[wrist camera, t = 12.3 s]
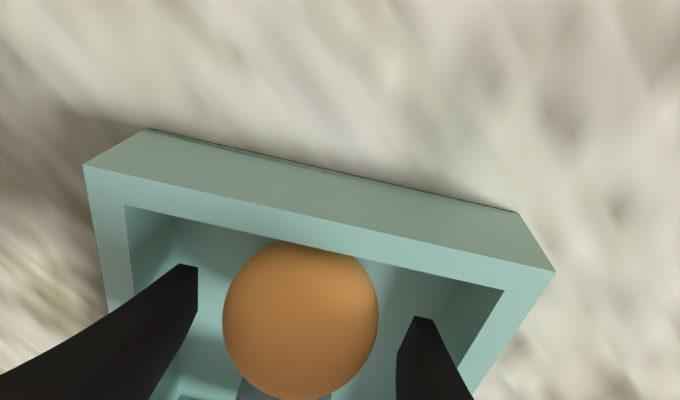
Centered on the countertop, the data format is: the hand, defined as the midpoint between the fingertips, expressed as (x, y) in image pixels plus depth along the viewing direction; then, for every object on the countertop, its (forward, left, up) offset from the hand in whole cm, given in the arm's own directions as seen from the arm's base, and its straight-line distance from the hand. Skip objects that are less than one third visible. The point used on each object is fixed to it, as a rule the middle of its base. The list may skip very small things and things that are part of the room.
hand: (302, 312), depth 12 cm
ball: (0, 0, 0) cm, 0 cm away
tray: (-4, 0, -3) cm, 5 cm away
